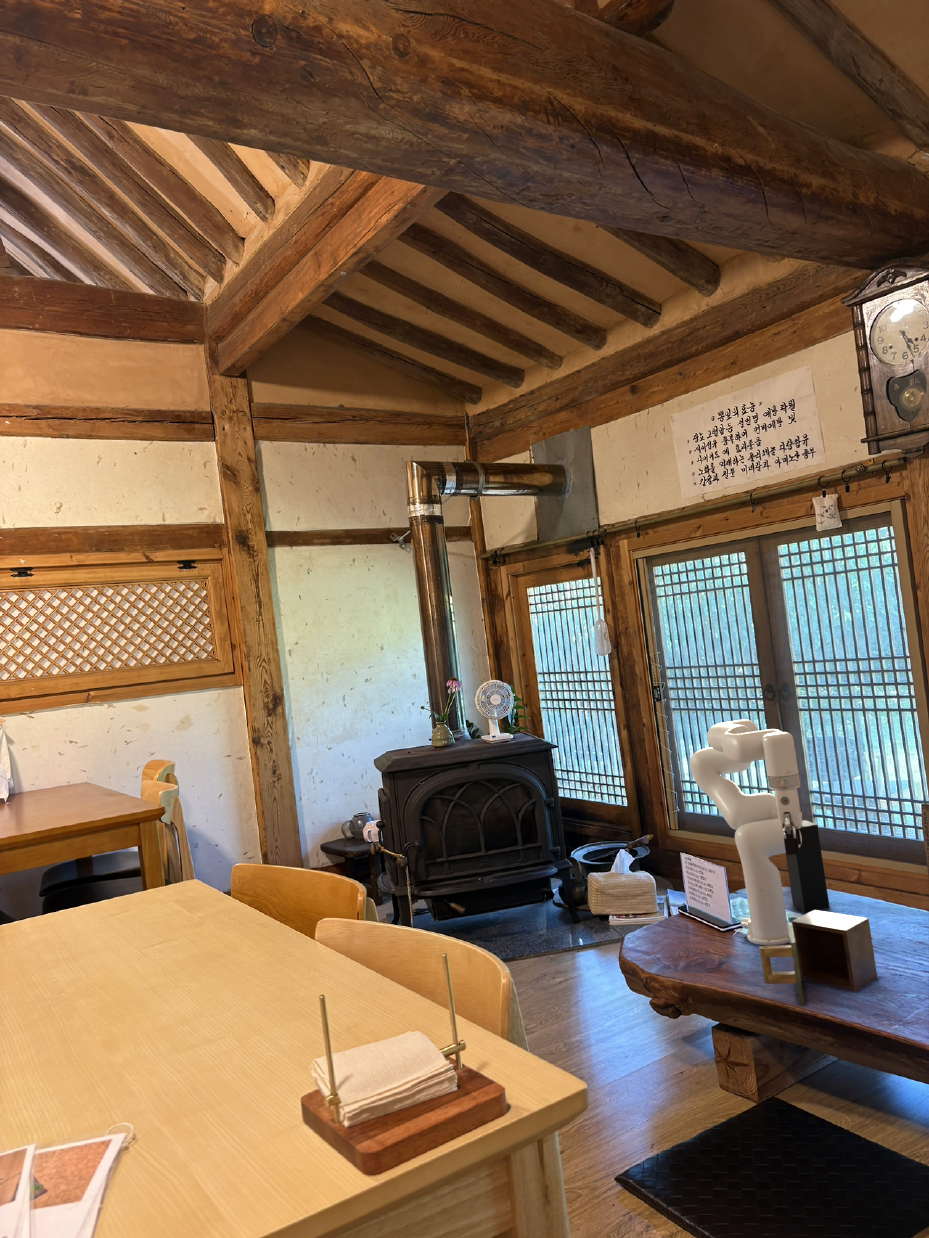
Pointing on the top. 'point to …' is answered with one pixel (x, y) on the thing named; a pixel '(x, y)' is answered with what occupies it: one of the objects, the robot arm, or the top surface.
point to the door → (782, 952)
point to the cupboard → (835, 950)
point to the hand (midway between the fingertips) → (793, 849)
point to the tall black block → (808, 872)
